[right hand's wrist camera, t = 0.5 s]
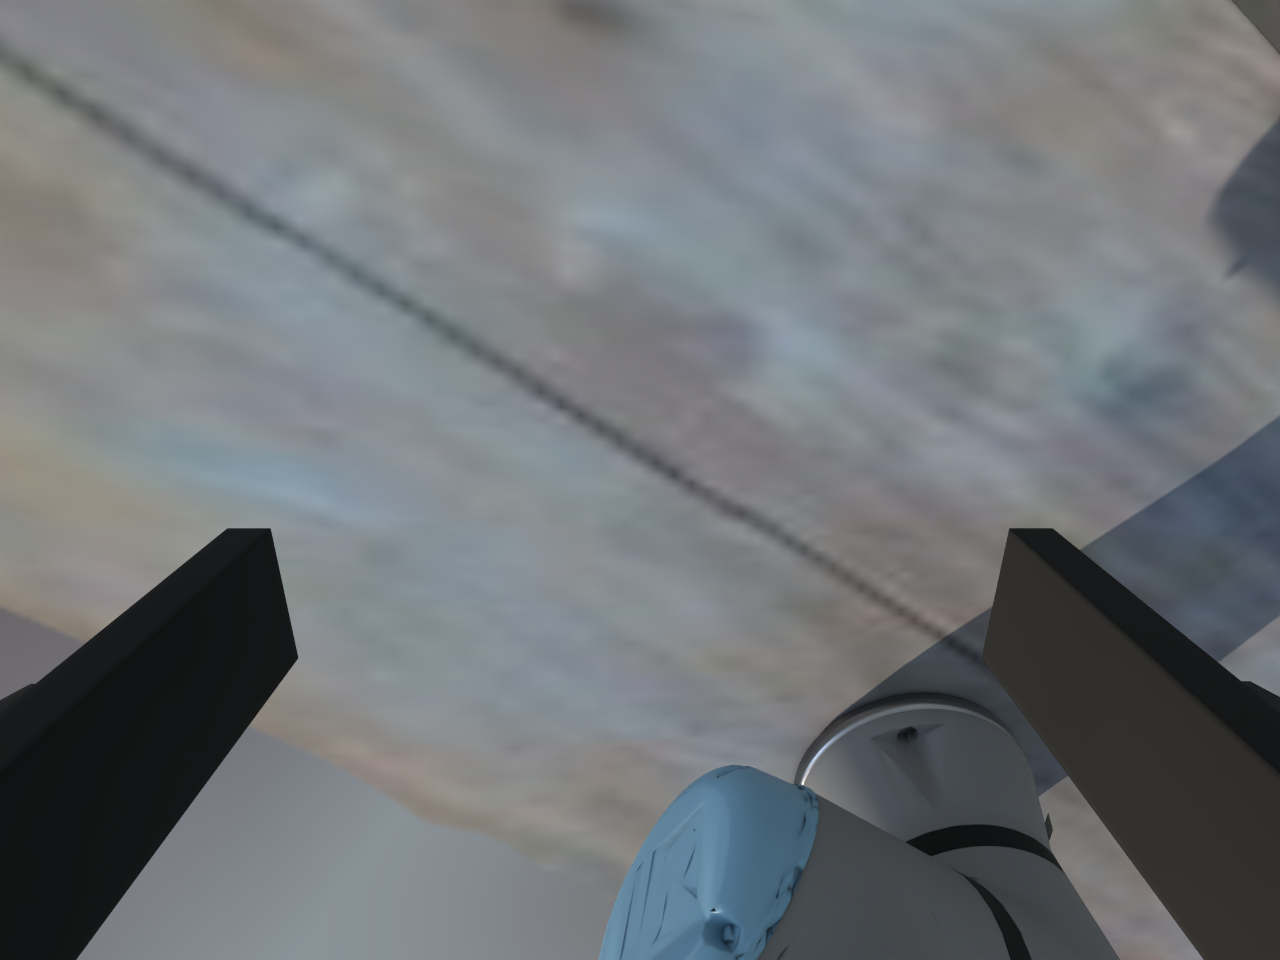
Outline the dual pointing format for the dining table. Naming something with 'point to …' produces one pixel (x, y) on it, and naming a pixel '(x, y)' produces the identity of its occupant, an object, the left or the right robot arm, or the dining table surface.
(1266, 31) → the bar
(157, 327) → the dining table surface
